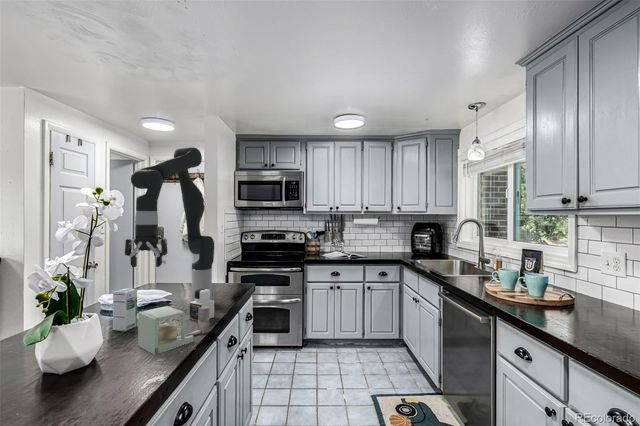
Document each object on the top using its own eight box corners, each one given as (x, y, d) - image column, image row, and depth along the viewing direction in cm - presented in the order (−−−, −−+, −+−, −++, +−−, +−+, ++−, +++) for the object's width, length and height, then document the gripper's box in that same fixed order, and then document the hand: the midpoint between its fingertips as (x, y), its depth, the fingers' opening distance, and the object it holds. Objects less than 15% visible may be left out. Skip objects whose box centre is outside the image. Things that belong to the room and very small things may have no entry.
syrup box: (125, 331, 118) (126, 292, 119) (112, 330, 120) (112, 291, 120) (137, 326, 124) (137, 288, 124) (124, 325, 125) (124, 287, 125)
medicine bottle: (189, 319, 133) (189, 290, 133) (202, 314, 139) (203, 286, 140) (201, 321, 130) (201, 292, 130) (214, 317, 136) (215, 288, 136)
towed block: (202, 329, 121) (202, 305, 121) (211, 332, 118) (212, 308, 118) (149, 345, 106) (150, 318, 106) (158, 350, 102) (159, 321, 102)
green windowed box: (176, 334, 116) (176, 303, 116) (193, 341, 109) (193, 309, 109) (138, 345, 105) (138, 312, 105) (154, 354, 99) (154, 319, 99)
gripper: (170, 223, 124) (169, 265, 124) (131, 223, 123) (131, 265, 123) (162, 223, 117) (162, 268, 116) (121, 223, 115) (120, 268, 115)
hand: (146, 266), depth 119 cm, fingers open, 8 cm apart
